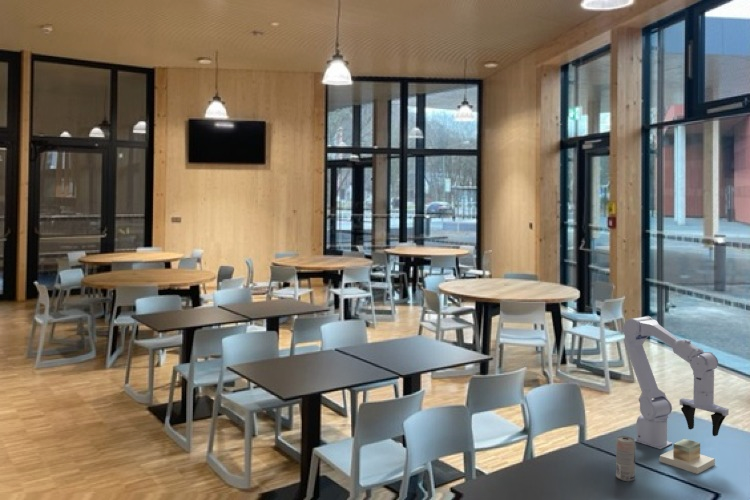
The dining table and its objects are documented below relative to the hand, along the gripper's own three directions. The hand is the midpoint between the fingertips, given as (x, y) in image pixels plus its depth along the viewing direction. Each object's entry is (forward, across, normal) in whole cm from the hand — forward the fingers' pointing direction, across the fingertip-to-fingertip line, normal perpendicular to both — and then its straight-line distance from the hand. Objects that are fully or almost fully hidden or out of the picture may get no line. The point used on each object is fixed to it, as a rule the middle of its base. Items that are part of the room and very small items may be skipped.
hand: (703, 431), depth 197 cm
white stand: (+9, -2, -6) cm, 11 cm away
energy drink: (+10, -8, -31) cm, 33 cm away
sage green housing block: (+7, -2, -6) cm, 10 cm away
